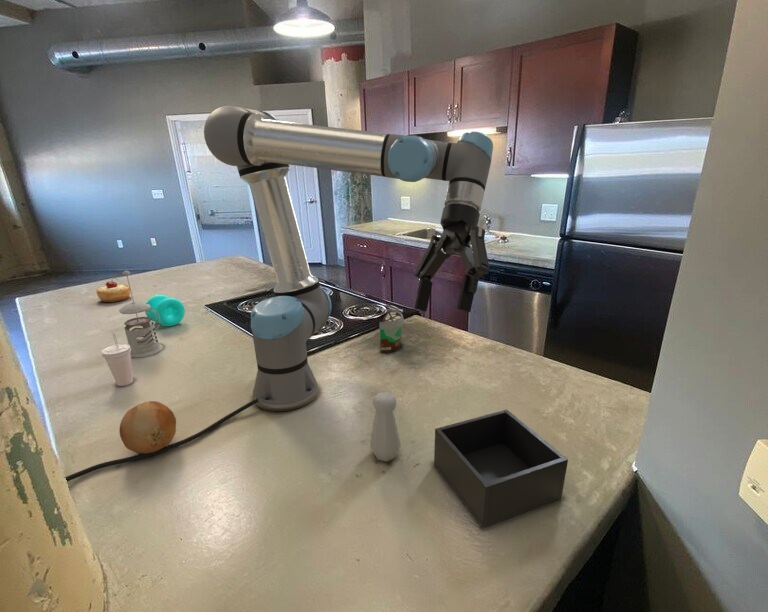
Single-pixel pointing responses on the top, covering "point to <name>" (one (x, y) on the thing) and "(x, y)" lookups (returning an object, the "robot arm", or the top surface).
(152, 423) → the onion
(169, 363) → the top surface
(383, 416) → the salt shaker
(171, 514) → the top surface
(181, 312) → the turquoise short spool shape
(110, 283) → the pastry
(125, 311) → the french press
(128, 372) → the smoothie
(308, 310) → the robot arm
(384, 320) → the food container
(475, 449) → the basket
